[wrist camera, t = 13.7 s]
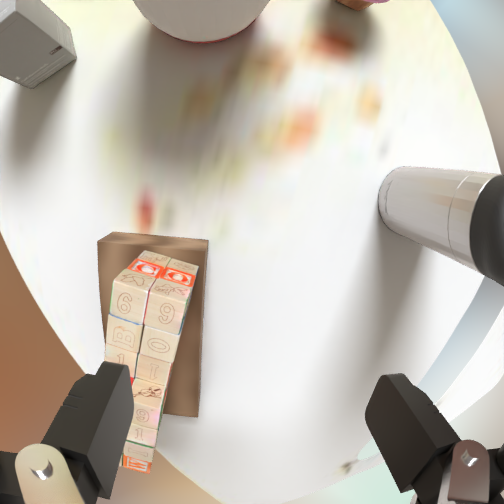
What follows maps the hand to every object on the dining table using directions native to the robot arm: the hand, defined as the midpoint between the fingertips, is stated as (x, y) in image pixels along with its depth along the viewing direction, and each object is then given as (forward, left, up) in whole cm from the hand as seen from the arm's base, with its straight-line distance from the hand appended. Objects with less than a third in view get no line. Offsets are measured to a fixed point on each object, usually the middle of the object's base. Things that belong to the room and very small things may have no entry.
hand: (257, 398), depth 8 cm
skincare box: (+28, -22, -28) cm, 45 cm away
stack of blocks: (+9, +13, -23) cm, 28 cm away
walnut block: (+9, +14, -28) cm, 33 cm away
